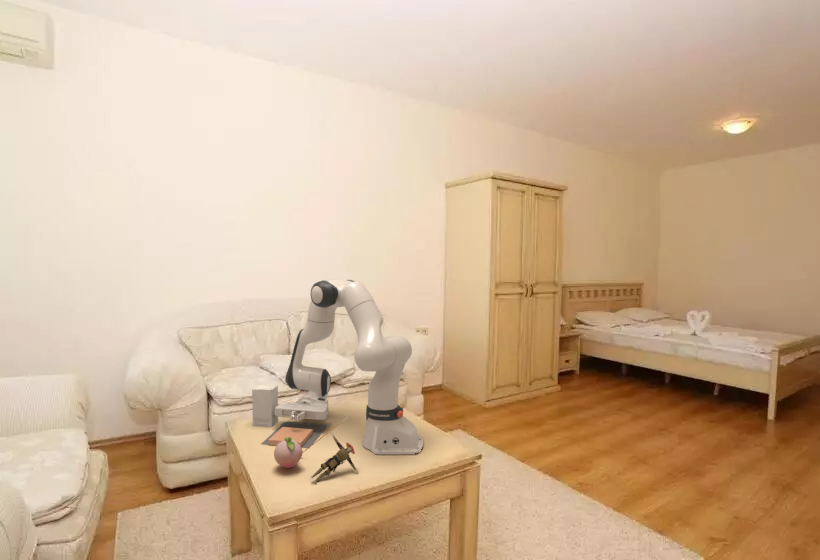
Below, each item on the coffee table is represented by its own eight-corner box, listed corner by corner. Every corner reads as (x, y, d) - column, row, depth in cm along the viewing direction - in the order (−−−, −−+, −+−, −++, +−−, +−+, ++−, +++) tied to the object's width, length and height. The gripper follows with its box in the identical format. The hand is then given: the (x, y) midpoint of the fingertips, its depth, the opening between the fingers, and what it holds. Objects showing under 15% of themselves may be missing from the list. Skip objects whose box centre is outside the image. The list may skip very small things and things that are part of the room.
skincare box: (278, 422, 171) (279, 384, 171) (271, 428, 165) (272, 389, 164) (258, 421, 172) (259, 383, 172) (251, 427, 166) (251, 388, 165)
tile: (312, 429, 160) (300, 442, 148) (312, 434, 160) (300, 447, 148) (282, 426, 161) (268, 439, 149) (282, 431, 161) (268, 445, 149)
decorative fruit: (269, 465, 135) (270, 435, 135) (294, 459, 140) (294, 429, 140) (279, 478, 128) (280, 446, 127) (305, 471, 133) (306, 439, 132)
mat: (328, 425, 169) (328, 424, 169) (309, 449, 148) (309, 448, 148) (285, 422, 172) (285, 421, 172) (260, 445, 150) (260, 444, 150)
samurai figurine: (322, 501, 130) (370, 458, 142) (330, 502, 122) (381, 456, 134) (293, 457, 132) (343, 418, 143) (299, 455, 124) (352, 413, 135)
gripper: (283, 396, 171) (267, 408, 158) (331, 400, 169) (320, 412, 155) (282, 411, 172) (267, 424, 158) (331, 415, 169) (320, 428, 155)
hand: (294, 418), depth 156 cm, fingers closed
